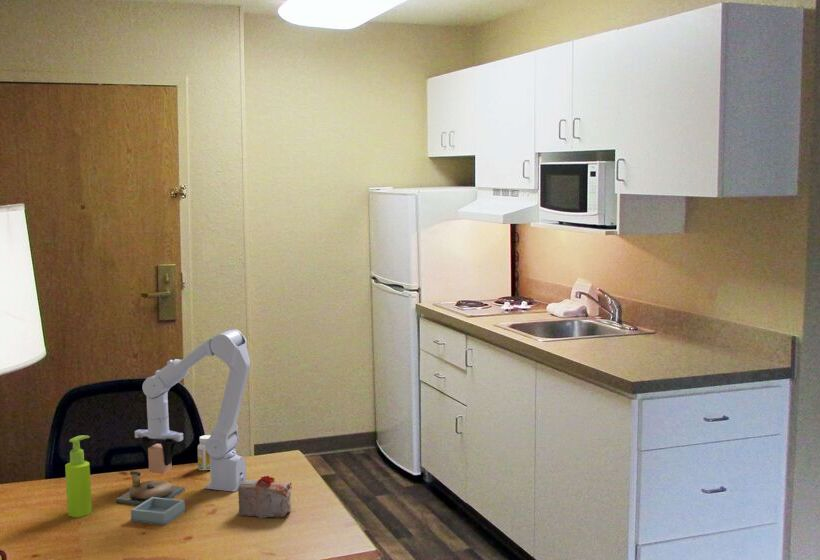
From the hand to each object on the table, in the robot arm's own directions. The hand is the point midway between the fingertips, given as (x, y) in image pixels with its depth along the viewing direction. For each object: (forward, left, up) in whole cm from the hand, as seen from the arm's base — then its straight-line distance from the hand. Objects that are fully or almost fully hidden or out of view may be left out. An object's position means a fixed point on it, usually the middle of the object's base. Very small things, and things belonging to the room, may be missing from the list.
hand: (160, 463), depth 255 cm
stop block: (0, 0, -2) cm, 2 cm away
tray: (-14, +23, -5) cm, 27 cm away
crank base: (-4, +11, -5) cm, 13 cm away
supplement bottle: (-7, -14, -6) cm, 17 cm away
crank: (-4, +11, -4) cm, 12 cm away
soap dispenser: (+7, +26, -6) cm, 28 cm away
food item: (-40, +14, -6) cm, 43 cm away
